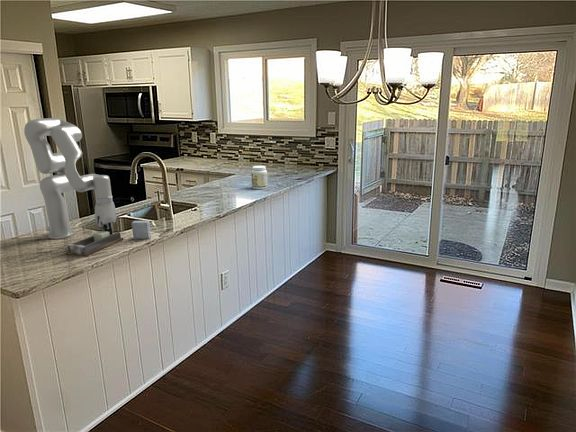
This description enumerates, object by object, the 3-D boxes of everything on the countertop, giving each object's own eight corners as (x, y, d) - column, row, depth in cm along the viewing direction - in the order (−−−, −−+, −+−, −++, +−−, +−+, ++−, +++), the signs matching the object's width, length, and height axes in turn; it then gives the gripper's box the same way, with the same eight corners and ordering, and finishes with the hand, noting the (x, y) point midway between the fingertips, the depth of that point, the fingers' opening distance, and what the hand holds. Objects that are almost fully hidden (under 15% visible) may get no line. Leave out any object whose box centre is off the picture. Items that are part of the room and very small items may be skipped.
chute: (66, 253, 194) (64, 244, 193) (104, 237, 216) (103, 229, 214) (86, 256, 190) (84, 247, 189) (123, 240, 212) (122, 231, 210)
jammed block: (94, 242, 205) (93, 233, 204) (102, 239, 210) (100, 230, 208) (102, 243, 203) (101, 234, 202) (110, 240, 208) (109, 231, 207)
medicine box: (151, 236, 217) (149, 220, 214) (148, 239, 213) (147, 222, 210) (136, 236, 217) (134, 220, 214) (133, 239, 212) (131, 223, 210)
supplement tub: (248, 188, 328) (247, 166, 324) (260, 185, 336) (260, 164, 332) (258, 190, 320) (257, 168, 315) (270, 188, 328) (270, 166, 323)
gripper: (109, 196, 213) (113, 230, 218) (86, 203, 200) (92, 239, 205) (120, 197, 211) (125, 232, 216) (99, 204, 197) (104, 241, 202)
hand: (109, 235), depth 210 cm, fingers closed
